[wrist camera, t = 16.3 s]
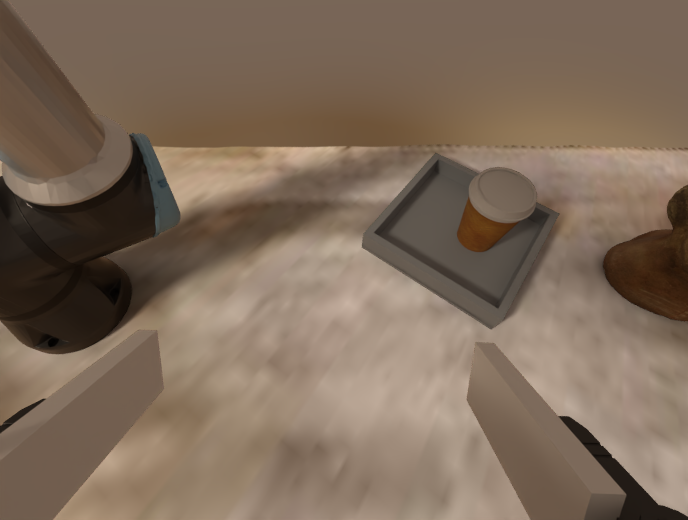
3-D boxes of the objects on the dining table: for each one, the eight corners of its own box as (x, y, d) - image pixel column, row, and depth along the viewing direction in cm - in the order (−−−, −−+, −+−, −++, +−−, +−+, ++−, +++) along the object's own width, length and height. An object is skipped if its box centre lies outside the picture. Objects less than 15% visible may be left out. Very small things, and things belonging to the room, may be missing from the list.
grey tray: (361, 247, 57) (363, 233, 53) (430, 168, 66) (435, 152, 63) (491, 329, 50) (502, 320, 46) (546, 227, 59) (559, 213, 56)
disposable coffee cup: (514, 245, 56) (555, 198, 46) (473, 270, 54) (506, 226, 43) (476, 207, 60) (505, 156, 50) (436, 229, 58) (457, 179, 47)
